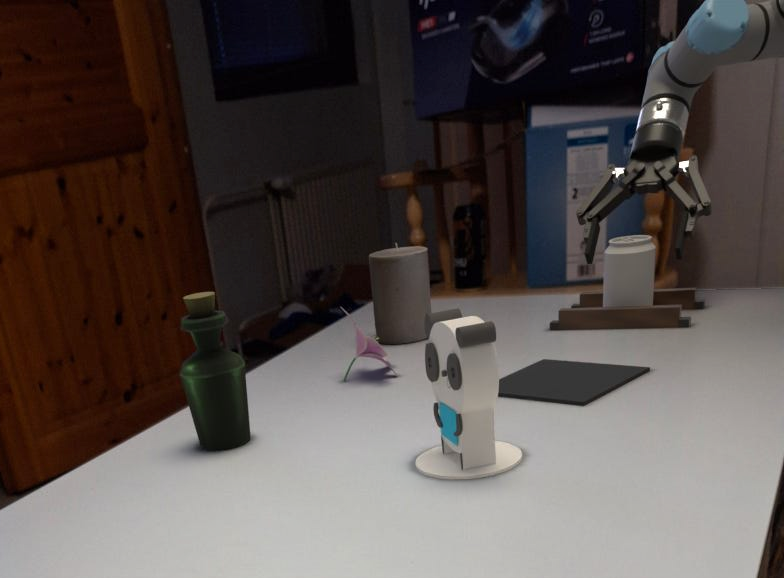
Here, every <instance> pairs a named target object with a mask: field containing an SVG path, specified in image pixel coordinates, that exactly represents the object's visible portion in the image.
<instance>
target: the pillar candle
mask: <svg viewBox="0 0 784 578" xmlns="http://www.w3.org/2000/svg"><path fill="white" fill-rule="evenodd" d="M394 245H395V247H394V248H386V249H382V250H379V251H375V252H372V253H370V254H369V255H368V261H369V263H368V264H369V275H370V276H369V278H370V284H371V285H370V286H371V287H370V288H371V296H372V306H373V307H372V308H373V317H374V328H375V339H376V338H377V337H379V338H380V339H378V338H377V340H376V341H379V342H378V343H379V344H383V345H402V344H410V343H415V342H419V341H423V340H426V339H428V338H427V336H426V332H425V325H424V324H425V316H426V314H429V313H432V301H431V285H430V269H429V253H428V250H429V248H428V247H425V246H420V245H417V246H403V247H402V246H401V247H398V246H399V245H398V243H397V242H395V243H394Z"/></svg>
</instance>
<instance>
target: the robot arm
mask: <svg viewBox="0 0 784 578" xmlns="http://www.w3.org/2000/svg"><path fill="white" fill-rule="evenodd" d="M776 58H784V0H767V1H763V2H756V3H749V4H747V3H746V1H745V0H704V1H703V3H702V4H701V5H700V7H699V8H698V9H696V10H695V12H694V13H693V14H692V15H691V16H690V17H689V19H688V22H686V24H685V26H684V28H683V29H682V30H681V31H680V33H679V35H678V36H677V38H676V39H675V40H673V41H670V42H668V43H667V44H666V45H664V46H661V47H659V49H658V50H657V51H656V53H655V54H654V56H653V58H652V61H651V65H650V66H649V68H648V72H647V77H646V84H645V88H644V93H643V97H642V101H641V107H640V110H639V111H640V112H639V115H638V120H637V123H636V124H637V125H636V129H635V132H634V133H635V134H634V138H633V141H632V146H631V149H630V154H629V159H628V162H627V164H626V165H625V166H624V167H616V166H615V164H614V163H610V164H608V165H607V166H606V169H605V172H604V175H603V176H602V178H600V180H599V182H598V183H597V184H596V186H595V187H594V188H593V190H591V192H590V194H588V196H587V197H586V199H584V201H583V202H582V204H581V205H580V207H579V208H578V209H577V210H576V212H575V215H576V218H577V221H578V224H579V226H584V228H583V233H582V239H583V241H584V244H585V249H584V253H583V254H584V257H585V261H586V264H587V265H593V262H594V259H595V258H594V257H595V253H596V249H597V244H598V241H599V237H600V232H601V225H600V223H602V221H604V219H606V218H607V217H608V216H609V215H610V214H611V213H612V212H614V210H616V209H618V207H619V206H621V205H622V204H623V203H624V202H625V201H626V200H630V199H631V198H632V197H633V196H634V195H636V194H637V195H641V196H642V195H645V194H659V192H661V191H663V192H664V193H665V194H666V195H667V196H668V197H670V198H671V199H672V200H673V202H674V203H675V204H676V205H677V206H678V207H679V208H680V210H681V211H682V214H681V217H680V218H681V219H680V222H679V227H678V232H677V235H676V241H675V245H674V252H675V258H676V260H682V259H683V256H684V251H685V246H686V242H687V238H692V237H694V235H695V233H696V229H697V228H696V227H697V223H698V219H699V218H701V217H702V216H704V217H709V216H711V215H712V214H713V210H712V200H711V198H710V195H709V193H708V191H707V189H706V186H705V184H704V182H703V179H702V177H701V175H700V172H699V160H698V156H697V155H695V154H693V155H691V156H690V157H688V160H685V161H680V157H681V152H682V149H683V148H682V147H683V143H684V138H685V134H686V129H687V126H688V125H687V124H688V120H689V116H690V110H691V107H692V103H693V99H694V97H695V94H696V93H697V91H698V90H699V89H700V88H701V86H702V85H703V84H704V83H705V82H706V81H707V80H708V78H709V76H711V75H712V73H713V72H714V71H715V70H716V69H717V68H719V67H724V66H731V65H736V64H737V65H738V64H744V63H749V62H756V61H761V60H769V59H776ZM680 173H683V175H684V177H686V178H689V183H690V186H691V189H692V190H693V193H694V195H695V197H696V201H694V200H693V198H692V197H691V196H690V195H689V194H688V193H687V192H686V191H685V189H684V188H683V187H682V186H681V185H680V184H679V182H677V180H676V179H675V178H676V177H678V175H679V174H680ZM622 178H623V179H622ZM620 179H621V180H620ZM619 181H620V182H619ZM618 183H619V184H618ZM617 184H618V186H616V187H615V188H614V186H615V185H617Z"/></svg>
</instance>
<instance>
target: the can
mask: <svg viewBox="0 0 784 578" xmlns="http://www.w3.org/2000/svg"><path fill="white" fill-rule="evenodd" d="M652 239H653V236H651V235H647V234H646V235H645V234H635V235H625V236H618V237H613V238H611V239H609V240H608V243H609V245H608V246H607V248H606V249H605V251H603V284H602V285H603V286H602V291H603V307H621V306H652V305H653V293H654V289H655V273H656V272H655V271H656V270H655V269H656V249H657V247H656V245H655V244H654V243H653V242H652Z"/></svg>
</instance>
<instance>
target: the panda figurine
mask: <svg viewBox="0 0 784 578" xmlns="http://www.w3.org/2000/svg"><path fill="white" fill-rule="evenodd" d="M424 325H425V332H426V336H427V338H426V339H428V342H427V343H426V344H425V348H424V364H425V365H424V366H425V367H424V368H425V374H426V377H427V379H428V380H429V381H430V384H431V387H432V391H433V394H434V397H435V400H436V402H433V406H432V407H433V408H432V409H433V410H432V411H433V416H434V420H435V423H436V425H437V427H438V428H440V440H441V441H440V443H441V445H437V446H434V447H432V448H430V449H427V450H425V451H424V452H422V453H421V454H419V456H418V457H416V460H415V468H416V470H417V471H418V472H419V473H421V474H422V475H425V476H427V477H431V478H435V479H441V480H455V481H456V480H457V481H458V480H475V479H482V478H487V477H491V476H492V477H493V476H495V475H500V474H502V473H504V472H507V471H509V470H511V469H513V468H515V467H517V466H518V465H519V464H520V463H521V462H522V460H523V452H522V450H521V449H520V447H518V446H516V445H514V444H511V443H509V442H504V441H500V440H496V436H495V411H494V408H495V406H496V404H497V400H498V397H499V396H498V391H499V379H500V372H499V360H498V355H497V354H498V353H497V348H496V341H497V328H496V325H495V322H493V321H492V320H490V321H484V320H483V319H482V318H480V317H479V316H476V315H469V316H464V317H463V315H462V311H461V309H460V308H458V307H457V308H451V309H446V310H440V311H436V312H435V311H434V312H431V313H429V314H426V316H425V324H424Z"/></svg>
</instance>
